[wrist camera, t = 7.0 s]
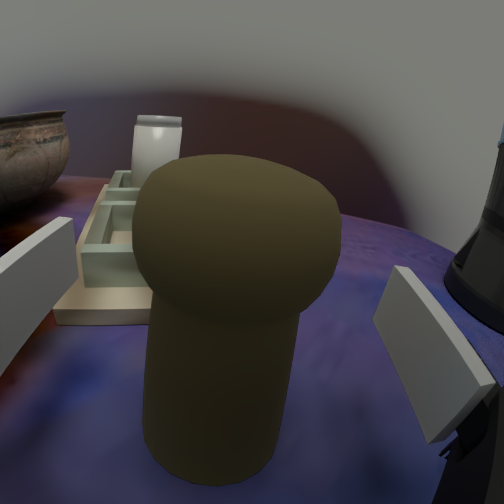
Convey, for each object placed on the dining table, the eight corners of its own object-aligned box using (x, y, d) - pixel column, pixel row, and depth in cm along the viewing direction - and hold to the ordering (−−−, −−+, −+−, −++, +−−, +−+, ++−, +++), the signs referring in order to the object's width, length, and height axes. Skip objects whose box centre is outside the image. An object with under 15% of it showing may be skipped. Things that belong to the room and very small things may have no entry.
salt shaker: (172, 193, 38) (180, 117, 34) (176, 206, 33) (186, 118, 29) (131, 193, 36) (136, 114, 32) (128, 206, 31) (135, 115, 27)
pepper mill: (241, 367, 15) (283, 151, 10) (302, 455, 10) (425, 207, 6) (129, 389, 12) (111, 141, 8) (168, 502, 8) (124, 198, 3)
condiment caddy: (196, 193, 44) (199, 169, 42) (270, 315, 20) (282, 267, 18) (104, 192, 39) (105, 167, 37) (57, 324, 15) (44, 272, 13)
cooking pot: (27, 180, 41) (28, 113, 36) (105, 189, 40) (110, 108, 35) (-81, 231, 18) (-89, 139, 13) (-24, 261, 17) (-38, 123, 12)
